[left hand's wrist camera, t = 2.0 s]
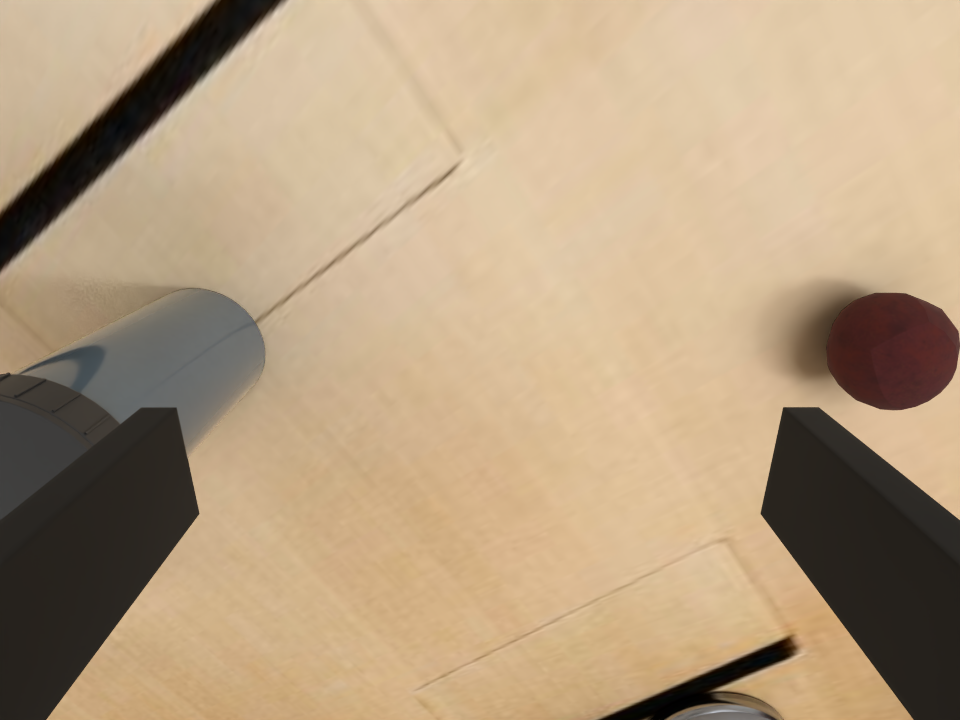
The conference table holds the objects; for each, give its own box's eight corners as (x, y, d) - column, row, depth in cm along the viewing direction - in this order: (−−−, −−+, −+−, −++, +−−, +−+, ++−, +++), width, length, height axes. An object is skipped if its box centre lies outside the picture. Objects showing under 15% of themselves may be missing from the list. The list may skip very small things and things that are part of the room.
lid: (-33, 327, 24) (-85, 346, 21) (188, 450, 26) (161, 479, 23) (-102, 492, 26) (-153, 524, 24) (102, 590, 29) (72, 627, 26)
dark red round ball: (828, 399, 43) (891, 447, 36) (787, 316, 40) (847, 351, 34) (925, 348, 41) (1009, 388, 35) (889, 258, 39) (972, 283, 32)
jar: (174, 263, 39) (-63, 362, 22) (287, 333, 41) (148, 475, 24) (123, 359, 42) (-125, 515, 25) (231, 422, 44) (70, 607, 27)
